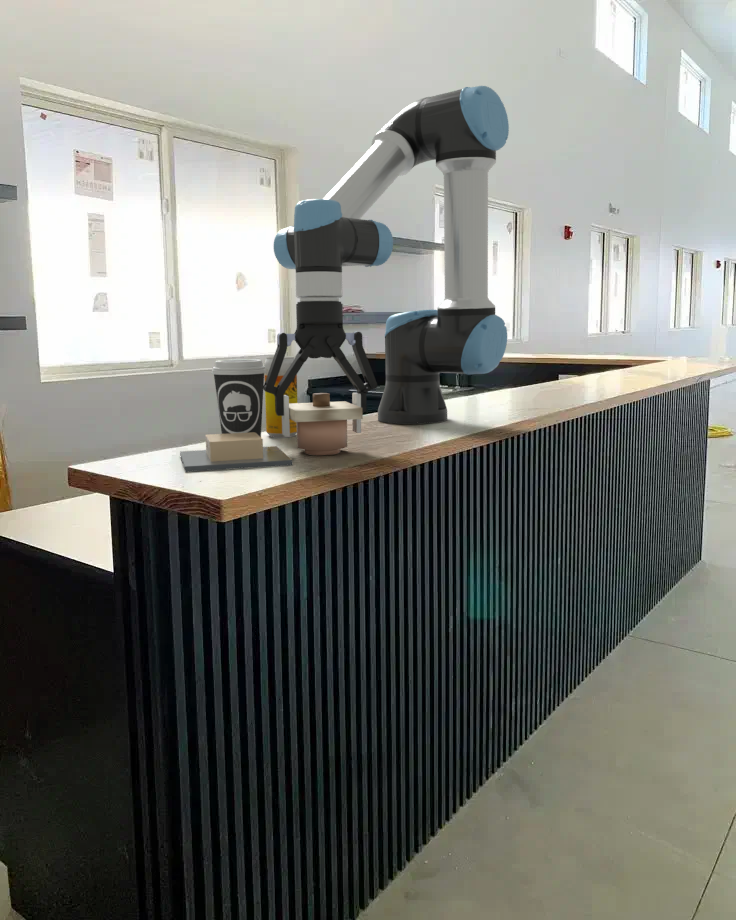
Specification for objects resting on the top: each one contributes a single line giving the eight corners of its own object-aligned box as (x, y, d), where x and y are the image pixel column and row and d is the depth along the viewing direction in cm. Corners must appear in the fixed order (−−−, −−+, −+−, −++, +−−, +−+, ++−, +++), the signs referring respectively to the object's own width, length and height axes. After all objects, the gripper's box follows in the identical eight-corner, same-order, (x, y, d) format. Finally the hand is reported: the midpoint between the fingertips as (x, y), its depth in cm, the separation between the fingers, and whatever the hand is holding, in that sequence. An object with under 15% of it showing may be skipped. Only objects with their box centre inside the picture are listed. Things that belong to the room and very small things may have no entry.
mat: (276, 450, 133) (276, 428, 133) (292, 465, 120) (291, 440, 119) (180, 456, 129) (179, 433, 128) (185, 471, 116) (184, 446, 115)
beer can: (293, 438, 147) (290, 357, 144) (262, 437, 148) (259, 357, 145) (302, 433, 153) (300, 356, 150) (272, 433, 154) (269, 356, 151)
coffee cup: (280, 445, 139) (277, 360, 136) (235, 452, 132) (232, 362, 129) (247, 440, 145) (244, 358, 142) (203, 446, 138) (199, 361, 136)
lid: (345, 411, 137) (344, 389, 136) (362, 419, 127) (362, 395, 126) (282, 414, 134) (282, 392, 133) (295, 422, 124) (294, 398, 123)
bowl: (340, 446, 137) (339, 412, 135) (353, 454, 129) (352, 418, 128) (292, 449, 134) (291, 414, 133) (302, 457, 126) (301, 420, 125)
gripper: (382, 300, 134) (383, 427, 138) (242, 300, 127) (247, 434, 131) (396, 299, 127) (396, 433, 131) (248, 299, 120) (253, 440, 124)
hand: (321, 433), depth 131 cm, fingers open, 11 cm apart
